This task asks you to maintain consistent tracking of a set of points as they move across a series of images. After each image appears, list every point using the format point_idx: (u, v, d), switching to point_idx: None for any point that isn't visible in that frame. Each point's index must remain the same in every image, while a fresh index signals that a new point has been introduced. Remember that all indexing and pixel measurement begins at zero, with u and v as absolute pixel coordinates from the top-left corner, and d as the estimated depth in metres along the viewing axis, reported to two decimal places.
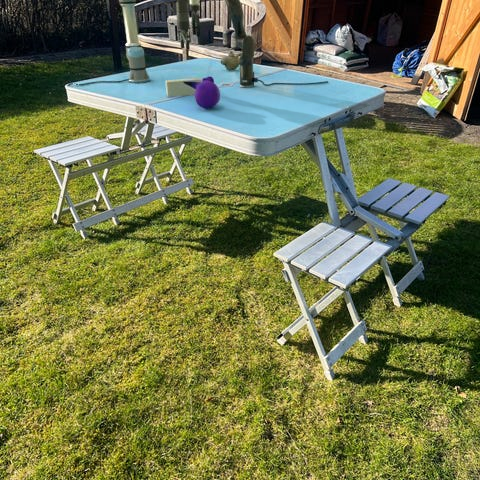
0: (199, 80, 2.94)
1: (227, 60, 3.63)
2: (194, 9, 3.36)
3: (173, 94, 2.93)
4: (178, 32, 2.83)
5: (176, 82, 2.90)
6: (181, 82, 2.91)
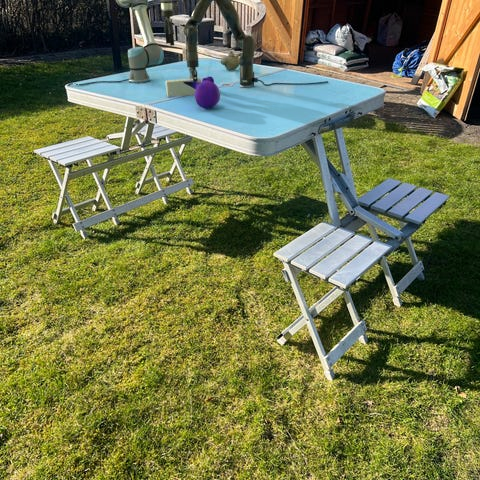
0: (199, 80, 2.94)
1: (227, 60, 3.63)
2: (167, 15, 2.99)
3: (173, 94, 2.93)
4: (189, 70, 2.97)
5: (176, 82, 2.90)
6: (181, 82, 2.91)
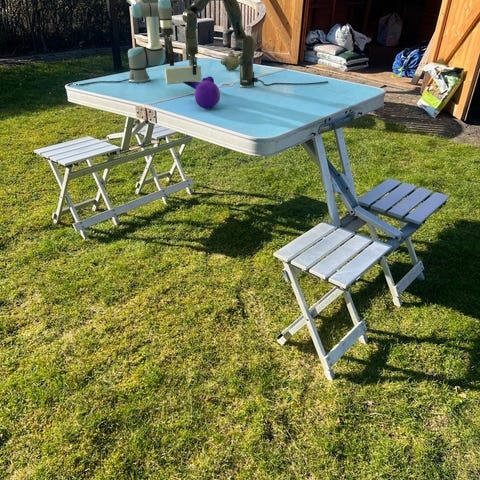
0: (199, 67, 2.90)
1: (227, 60, 3.63)
2: (166, 33, 2.75)
3: (172, 82, 2.89)
4: None
5: (175, 69, 2.86)
6: (180, 69, 2.87)
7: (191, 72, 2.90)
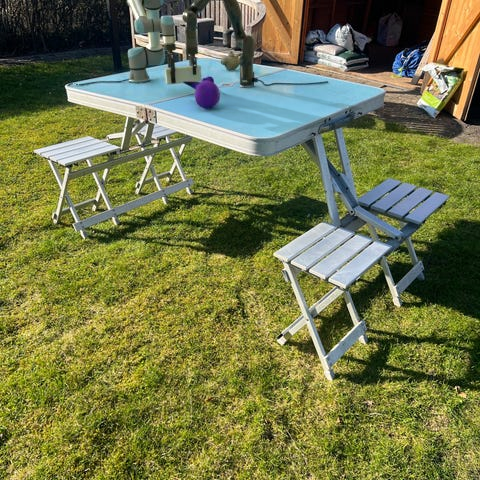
0: (199, 67, 2.90)
1: (227, 60, 3.63)
2: (169, 49, 2.78)
3: None
4: None
5: (175, 69, 2.86)
6: (180, 69, 2.87)
7: (191, 72, 2.90)
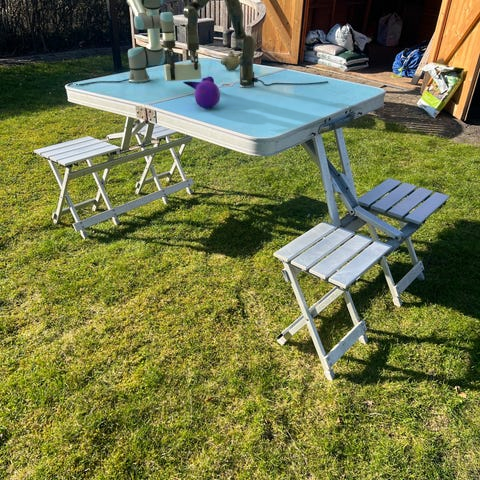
0: (198, 64, 2.89)
1: (227, 60, 3.63)
2: (168, 45, 2.77)
3: None
4: None
5: (175, 66, 2.85)
6: (180, 66, 2.86)
7: (191, 69, 2.89)
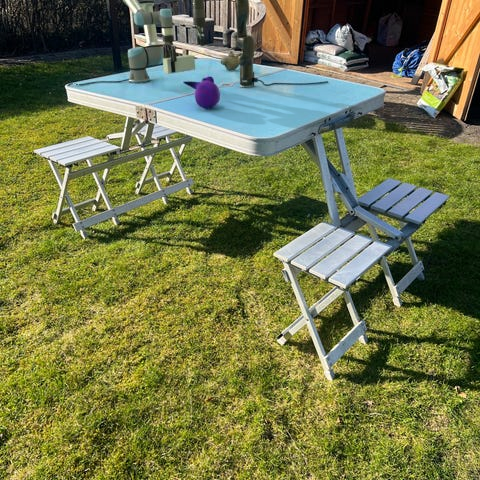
0: (193, 56, 3.14)
1: (227, 60, 3.63)
2: (169, 40, 2.97)
3: None
4: None
5: None
6: (178, 59, 3.07)
7: (187, 61, 3.12)
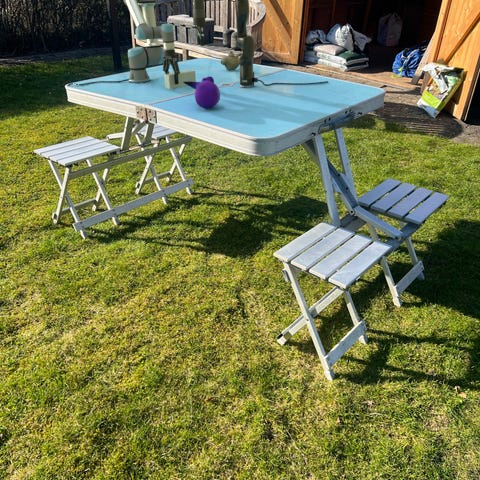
0: (194, 72, 3.20)
1: (227, 60, 3.63)
2: (171, 54, 3.02)
3: (174, 86, 3.14)
4: None
5: None
6: (180, 74, 3.14)
7: (188, 76, 3.19)
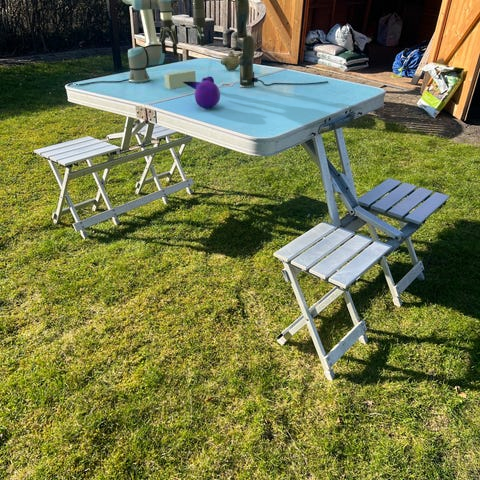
0: (194, 72, 3.20)
1: (227, 60, 3.63)
2: (168, 24, 2.93)
3: (174, 86, 3.14)
4: None
5: (176, 75, 3.12)
6: (180, 74, 3.14)
7: (188, 76, 3.19)
